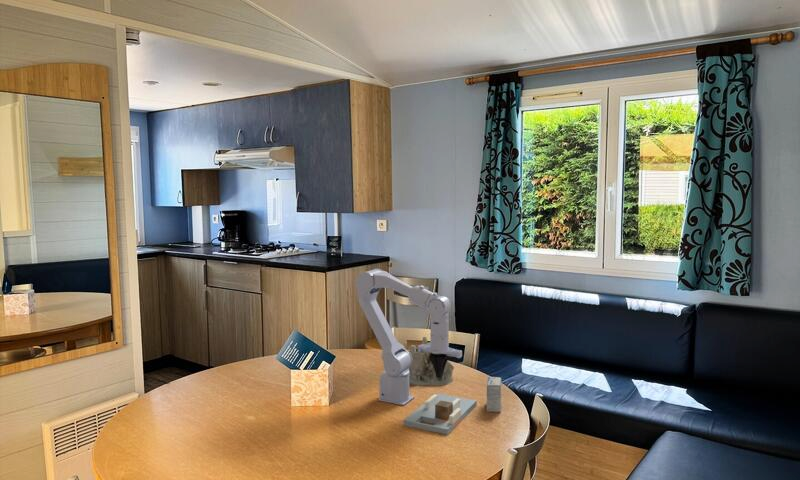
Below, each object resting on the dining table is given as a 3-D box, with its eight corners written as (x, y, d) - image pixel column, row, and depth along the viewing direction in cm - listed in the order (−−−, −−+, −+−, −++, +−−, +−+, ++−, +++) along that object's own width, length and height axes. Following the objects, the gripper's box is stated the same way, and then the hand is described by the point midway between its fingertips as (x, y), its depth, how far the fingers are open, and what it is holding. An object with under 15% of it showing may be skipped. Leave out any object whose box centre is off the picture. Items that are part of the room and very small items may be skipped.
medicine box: (500, 412, 172) (501, 385, 171) (486, 411, 173) (486, 384, 172) (501, 403, 180) (501, 377, 179) (487, 402, 181) (487, 376, 180)
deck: (403, 425, 163) (403, 412, 163) (436, 398, 185) (436, 386, 184) (447, 434, 157) (447, 421, 157) (476, 405, 178) (476, 393, 178)
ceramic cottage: (396, 378, 203) (399, 338, 201) (429, 371, 213) (432, 333, 212) (424, 393, 191) (427, 351, 189) (458, 384, 202) (461, 344, 200)
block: (435, 418, 164) (435, 404, 164) (440, 413, 168) (440, 400, 168) (447, 420, 163) (447, 407, 162) (452, 415, 166) (452, 402, 166)
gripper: (413, 334, 175) (413, 376, 176) (455, 340, 168) (455, 384, 169) (423, 329, 181) (423, 370, 182) (464, 335, 174) (464, 377, 175)
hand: (439, 376), depth 176 cm, fingers closed
